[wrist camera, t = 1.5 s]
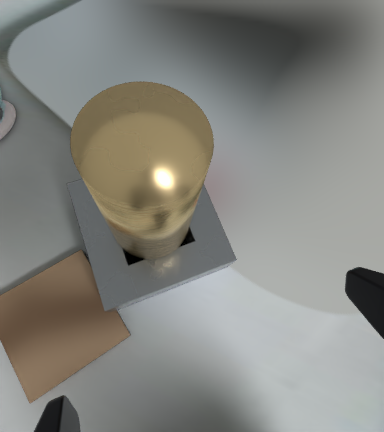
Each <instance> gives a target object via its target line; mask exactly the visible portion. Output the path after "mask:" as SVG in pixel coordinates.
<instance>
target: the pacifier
mask: <svg viewBox="0 0 384 432" xmlns="http://www.w3.org/2000/svg"><path fill="white" fill-rule="evenodd" d="M1 98H2V93H1V87H0V109H1V110H3V116H2V119H1V121H0V140H1V139H2V138H3V137H4V136H5V135H6V134H7V133H8V132H9V131H10V129H11V128H12V126H13V125H14V122H15V119H16V109H15V108H14V106H13V105H12V104H11V103H9V102H8V101H5V100H1Z"/></svg>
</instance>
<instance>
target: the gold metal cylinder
mask: <svg viewBox="0 0 384 432" xmlns="http://www.w3.org/2000/svg"><path fill="white" fill-rule="evenodd" d="M70 148H71V154H72V157H73V160H74V163H75V165H76V167H77V169H78V171H79V173H80V175H81V177H82V179H83V180H84V182H85V184H86V186H87V188H88V190H89V191H90V193H91V195H92V197H93V199H94V201H95V202H96V204H97V206H98V208H99V210H100V212H101V213H102V215H103V217H104V219H105V221H106V223H107V224H108V226H109V228H110V230H111V232H112V234H113V235H114V237H115V239H116V241H117V242H118V244H119V245H120V246H121V247H122V248H123V249H124V250H125V251H126V252H128V253H129V254H131V255H133V256H135V257H138V258H143V259H157V258H161V257H164V256H167V255H169V254H170V253H172V252H173V251H175V250H176V249H177V248H178V247H179V246H180V245H181V244H182V242H183V241H184V239H185V237H186V235H187V232H188V229H189V226H190V223H191V220H192V217H193V214H194V211H195V208H196V205H197V202H198V198H199V195H200V192H201V189H202V186H203V183H204V180H205V177H206V174H207V171H208V168H209V165H210V162H211V159H212V155H213V148H214V144H213V134H212V129H211V126H210V124H209V121H208V119H207V117H206V116H205V114H204V113H203V111H202V110H201V109H200V107H199V106H198V105H197V104H196V103H195V102H194V101H193V100H192V99H191V98H189V97H188V96H186V95H185V94H184V93H182V92H180V91H178V90H176V89H174V88H171V87H169V86H166V85H162V84H158V83H153V82H129V83H124V84H120V85H116V86H113V87H110V88H108V89H106V90H104V91H102V92H100V93H99V94H97V95H96V96H94V97H93V98H92V99H91V100H90V101H89V102H87V104H86V105H85V106H84V107H83V108H82V109H81V111H80V112H79V114H78V116H77V117H76V119H75V121H74V124H73V127H72V130H71V137H70Z"/></svg>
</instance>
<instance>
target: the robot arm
mask: <svg viewBox="0 0 384 432" xmlns="http://www.w3.org/2000/svg"><path fill="white" fill-rule="evenodd" d="M345 292H346V294H347V296H348V298H349V299H350V300H351V301H352V302H353V304H354V305H355V306H356V307H357V308H358V310H359V311H360V312H361V313H362V314H363V316H364V317H365V318H366V319H367V320H368V322H369V323H370V324H371V325H372V326H373V328H374V329H375V330H376V331H377V332H378V333H379V334H380V336H381V337H382V338H383V339H384V274H383V273H379V272H376V271H372V270H368V269H365V268H362V267H357V268H354V269H352V270H349V271H348V272H347V274H346V284H345ZM34 432H80V423H79V417H78V414H77V412H76V410H75V408H74V407H73V405H72V404H71V403H70V401H69V400H68V398H67V397H66V396H64V395H63V396H60V397H58V398H55V399H53V400H51V401H49V402H48V404H47V405H46V407H45V409H44V411H43V413H42V416H41V418H40V420H39V422H38V424H37V426H36V428H35V430H34Z"/></svg>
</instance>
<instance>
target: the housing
mask: <svg viewBox="0 0 384 432" xmlns="http://www.w3.org/2000/svg"><path fill="white" fill-rule="evenodd" d="M67 186H68V190H69V193H70V196H71V200H72V203H73V206H74V210H75V213H76V216H77V220H78V223H79V227H80V230H81V233H82V237H83V240H84V243H85V247H86V250H87V253H88V257H89V260H90V263H91V267H92V270H93V274H94V277H95V280H96V284H97V287H98V290H99V294H100V297H101V300H102V304H103V307H104V311H107V312H112V311H115V310H119V309H121V308H124V307H126V306H129V305H132V304H134V303H137V302H139V301H142V300H144V299H147V298H149V297H152V296H154V295H157V294H160V293H162V292H165V291H167V290H170V289H172V288H175V287H177V286H180V285H183V284H185V283H188V282H190V281H193V280H195V279H198V278H200V277H203V276H205V275H208V274H211V273H213V272H216V271H218V270H221V269H223V268H226V267H228V266H229V265H230V264H232V263H233V262H234V261H236V260H237V259H236V257H235V255H234V252H233V250H232V248H231V246H230V243H229V241H228V239H227V236H226V234H225V232H224V229H223V227H222V225H221V222H220V220H219V218H218V216H217V213H216V211H215V209H214V207H213V204H212V202H211V200H210V197H209V195H208V193H207V190H206V188H205V186H204V183H203V186H202V189H201V192H200V195H199V198H198V202H197V205H196V208H195V211H194V214H193V217H192V220H191V223H190V226H189V229H188V232H187V235H186V239H187V242H188V244H186V245H184V246H181V247H178V248H177V249H176V250H175V251H173V252H172V253H170V254H169V255H167V256H164V257H161V258H157V259H145V260H142V261H140V262H137V263H134V264H131V265H129V262H128V259H127V256H126V253H125V250H124V249H123V248H122V247H121V246H120V245H119V244H118V242H117V241H116V239H115V237H114V235H113V234H112V232H111V230H110V228H109V226H108V224H107V223H106V221H105V219H104V217H103V215H102V213H101V212H100V210H99V208H98V206H97V204H96V202H95V201H94V199H93V197H92V195H91V193H90V191H89V190H88V188H87V186H86V184H85V182H84V180H83V179H80V180H77V181H74V182H70V183H67Z"/></svg>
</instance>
